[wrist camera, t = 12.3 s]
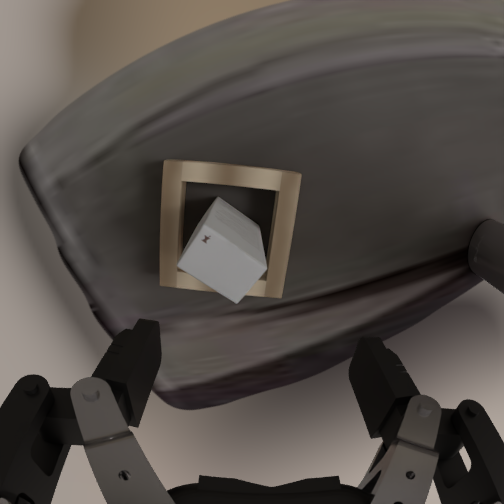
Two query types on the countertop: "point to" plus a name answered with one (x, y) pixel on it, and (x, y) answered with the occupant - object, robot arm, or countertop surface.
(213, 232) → the skincare box
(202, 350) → the countertop surface
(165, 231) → the birch stand
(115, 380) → the robot arm
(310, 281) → the countertop surface
